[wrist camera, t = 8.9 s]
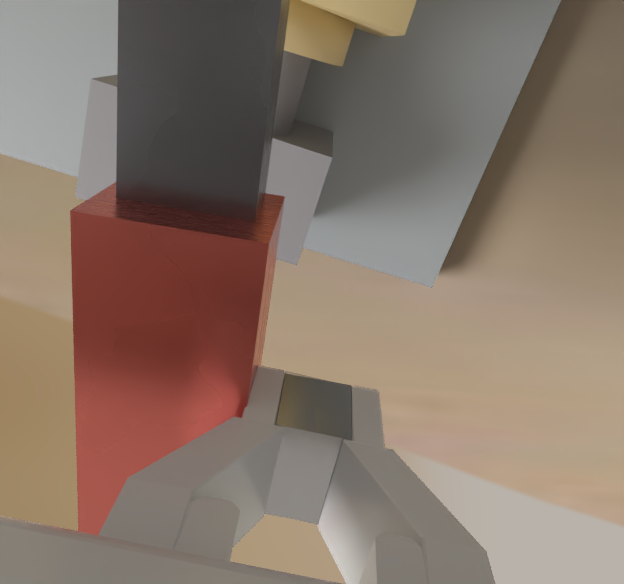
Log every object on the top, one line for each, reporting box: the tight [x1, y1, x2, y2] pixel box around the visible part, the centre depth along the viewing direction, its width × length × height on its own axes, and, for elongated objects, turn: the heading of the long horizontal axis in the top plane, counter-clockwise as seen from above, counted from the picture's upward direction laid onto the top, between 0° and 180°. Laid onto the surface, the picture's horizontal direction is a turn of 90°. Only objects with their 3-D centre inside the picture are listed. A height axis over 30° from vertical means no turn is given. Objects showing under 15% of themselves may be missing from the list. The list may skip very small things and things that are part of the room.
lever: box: [70, 0, 290, 535], centre depth 8 cm, size 4×14×2 cm, turn 171°
